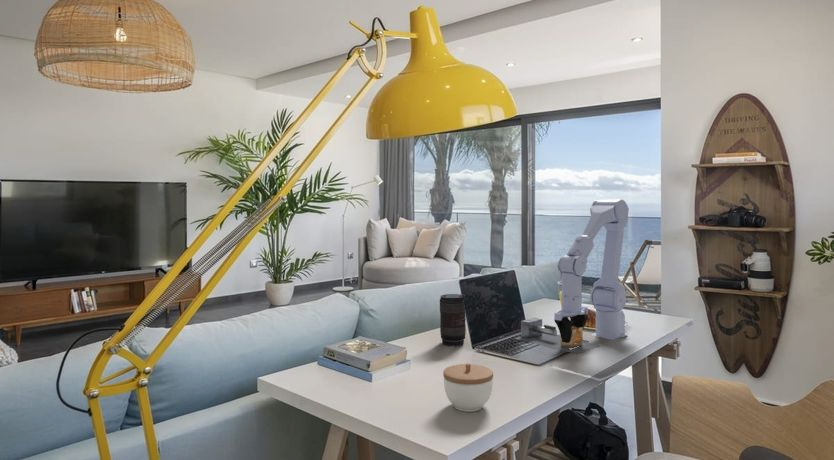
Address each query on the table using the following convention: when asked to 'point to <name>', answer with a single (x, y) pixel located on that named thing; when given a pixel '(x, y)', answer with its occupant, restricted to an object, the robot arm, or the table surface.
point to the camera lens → (452, 319)
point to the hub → (574, 337)
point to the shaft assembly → (536, 328)
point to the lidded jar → (468, 386)
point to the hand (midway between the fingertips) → (571, 340)
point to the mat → (557, 343)
